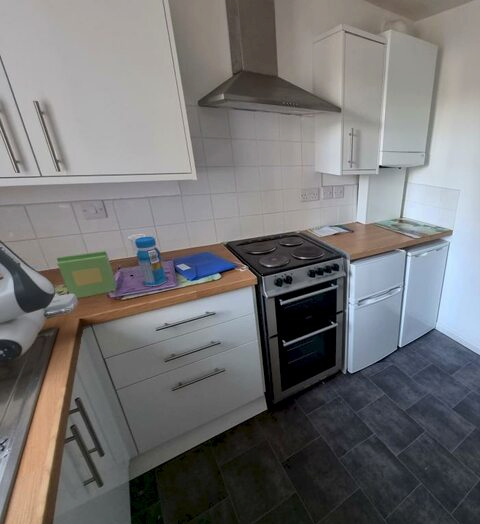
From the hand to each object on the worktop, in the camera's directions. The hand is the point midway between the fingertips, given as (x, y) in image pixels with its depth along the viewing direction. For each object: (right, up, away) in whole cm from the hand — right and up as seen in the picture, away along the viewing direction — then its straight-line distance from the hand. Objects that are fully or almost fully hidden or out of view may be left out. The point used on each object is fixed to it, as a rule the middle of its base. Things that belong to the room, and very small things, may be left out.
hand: (38, 298), depth 93 cm
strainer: (-7, +11, +58) cm, 59 cm away
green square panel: (-6, -1, +28) cm, 29 cm away
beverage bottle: (+13, +2, +37) cm, 39 cm away
